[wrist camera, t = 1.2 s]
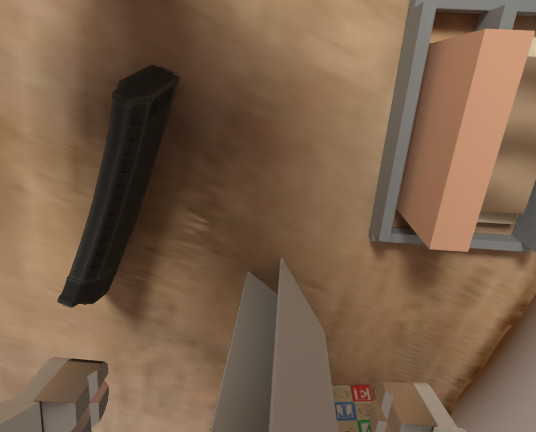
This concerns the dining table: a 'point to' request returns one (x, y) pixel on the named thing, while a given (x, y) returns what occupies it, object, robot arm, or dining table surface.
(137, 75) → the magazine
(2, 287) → the dining table surface
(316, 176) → the dining table surface
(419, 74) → the rack
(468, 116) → the salmon brown rectangular block
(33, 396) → the robot arm
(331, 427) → the brochure
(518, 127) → the upper offcut
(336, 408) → the stack of blocks
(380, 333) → the dining table surface
